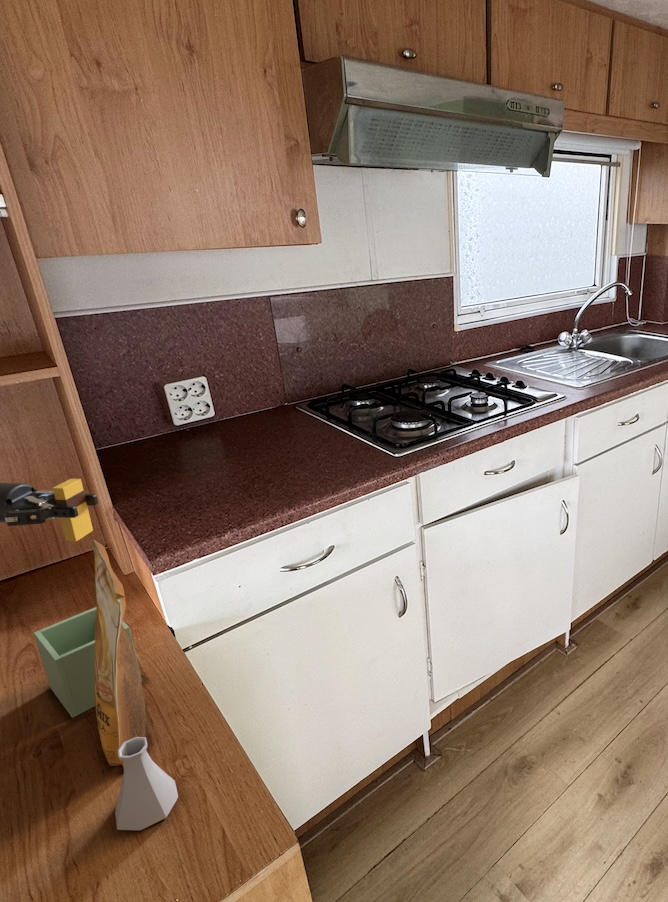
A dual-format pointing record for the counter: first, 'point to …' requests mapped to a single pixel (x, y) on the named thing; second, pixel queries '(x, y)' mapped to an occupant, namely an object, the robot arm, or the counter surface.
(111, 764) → the pancake mix bag
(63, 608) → the counter surface
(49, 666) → the trash can
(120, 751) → the flask
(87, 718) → the counter surface
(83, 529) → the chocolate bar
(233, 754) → the counter surface
